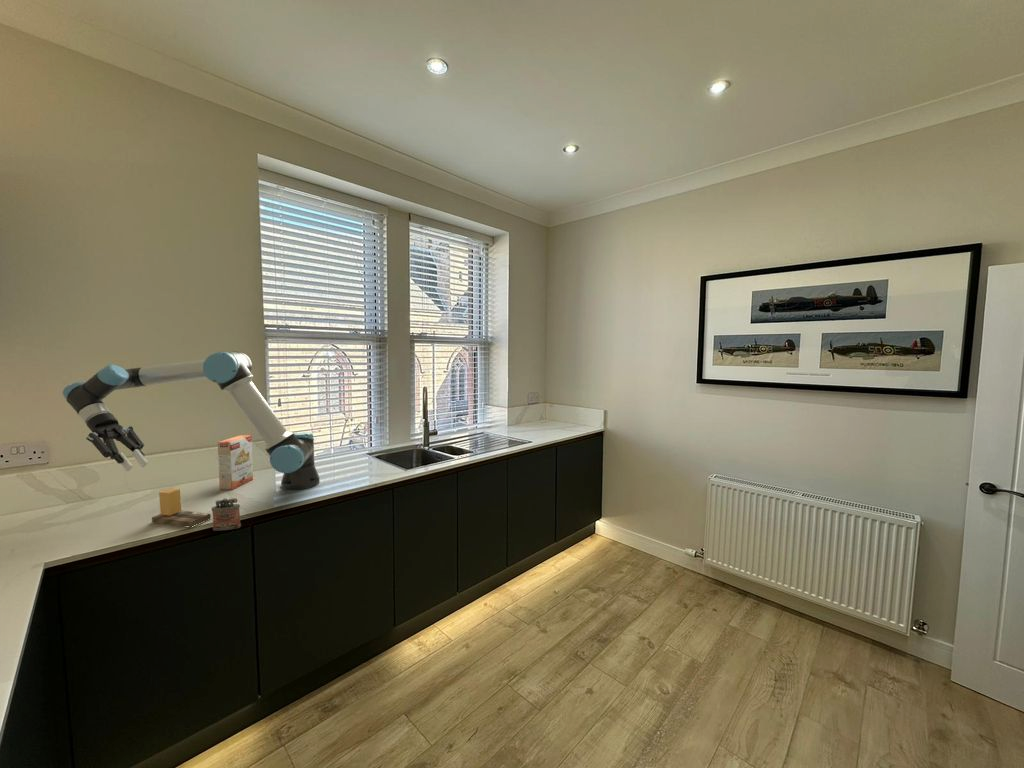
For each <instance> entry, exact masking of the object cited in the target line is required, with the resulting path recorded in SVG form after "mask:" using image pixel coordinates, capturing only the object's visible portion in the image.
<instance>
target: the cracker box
mask: <svg viewBox="0 0 1024 768" xmlns="http://www.w3.org/2000/svg"><path fill="white" fill-rule="evenodd" d="M252 445H253V443H252V435H248V434H246V435H243V434H242V435H237V436H233V437H230V438H227V439H224V440H221V441H217V455H218V456H217V457H218V476H219V477H218V478H219V490H226V491H227V490H228V491H229V490H234V489H237V488H239V487H240V486H242V485H245V484H247V483H248V482H251V481H253V480H254V474H253V473H254V470H253V446H252Z"/></svg>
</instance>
